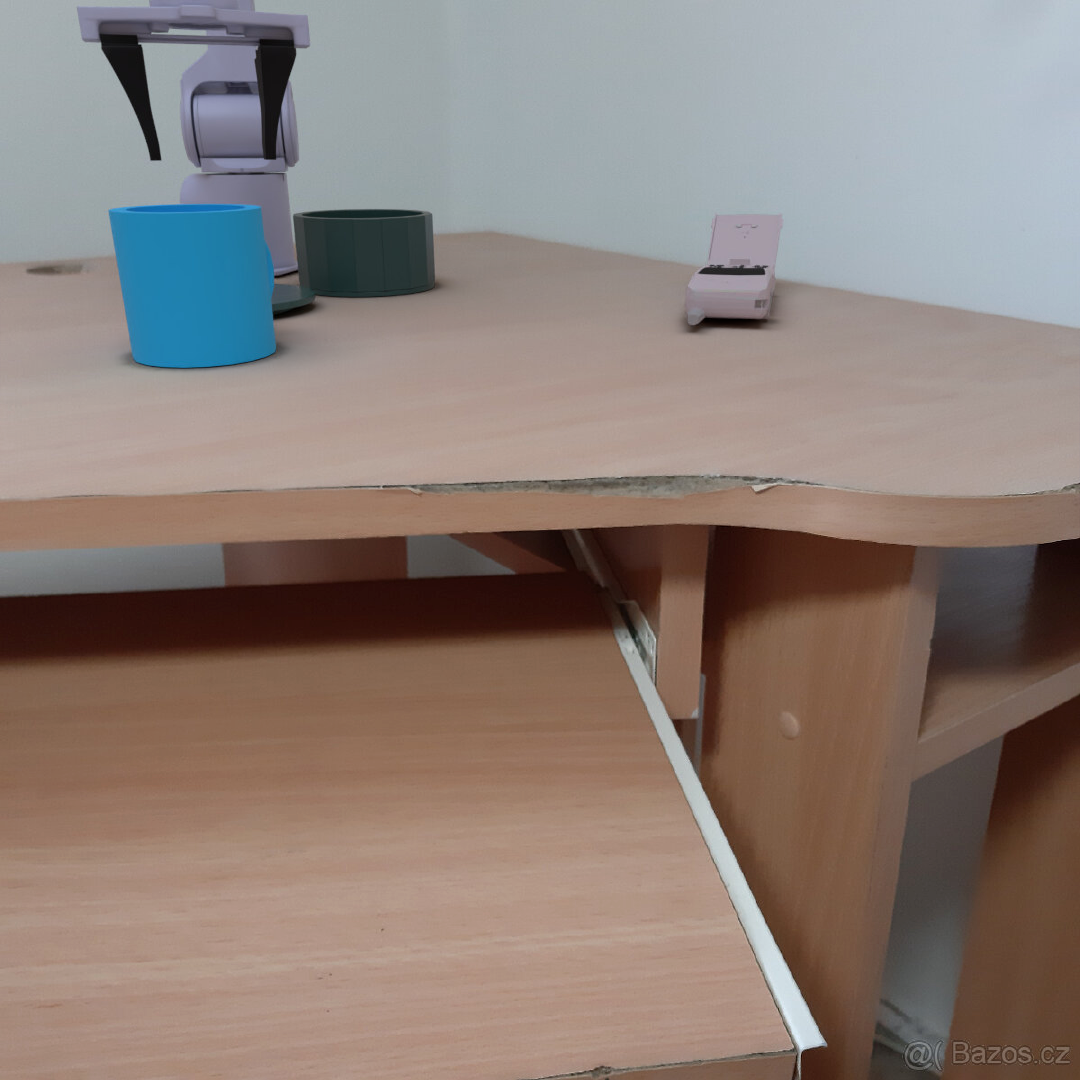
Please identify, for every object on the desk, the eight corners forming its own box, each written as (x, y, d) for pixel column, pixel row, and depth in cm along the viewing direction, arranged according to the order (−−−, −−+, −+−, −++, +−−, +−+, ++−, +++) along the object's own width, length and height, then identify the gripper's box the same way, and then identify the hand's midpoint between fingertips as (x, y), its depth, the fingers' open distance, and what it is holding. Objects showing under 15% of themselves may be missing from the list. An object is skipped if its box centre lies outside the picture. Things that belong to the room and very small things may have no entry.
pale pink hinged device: (784, 213, 82) (776, 238, 59) (778, 283, 84) (768, 334, 62) (713, 212, 83) (679, 237, 61) (709, 282, 85) (675, 331, 63)
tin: (277, 295, 78) (269, 217, 76) (330, 276, 88) (324, 208, 86) (411, 298, 76) (407, 219, 74) (449, 279, 87) (446, 209, 84)
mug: (227, 371, 52) (207, 214, 49) (101, 362, 54) (74, 211, 51) (330, 332, 63) (319, 201, 60) (221, 326, 65) (205, 199, 62)
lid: (111, 321, 67) (99, 254, 65) (198, 295, 78) (190, 237, 76) (274, 326, 65) (267, 258, 63) (340, 299, 76) (335, 240, 74)
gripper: (58, -85, 56) (99, 162, 62) (307, -69, 61) (326, 160, 66) (68, -64, 63) (105, 159, 68) (294, -50, 67) (312, 158, 72)
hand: (214, 160), depth 67 cm, fingers open, 7 cm apart
